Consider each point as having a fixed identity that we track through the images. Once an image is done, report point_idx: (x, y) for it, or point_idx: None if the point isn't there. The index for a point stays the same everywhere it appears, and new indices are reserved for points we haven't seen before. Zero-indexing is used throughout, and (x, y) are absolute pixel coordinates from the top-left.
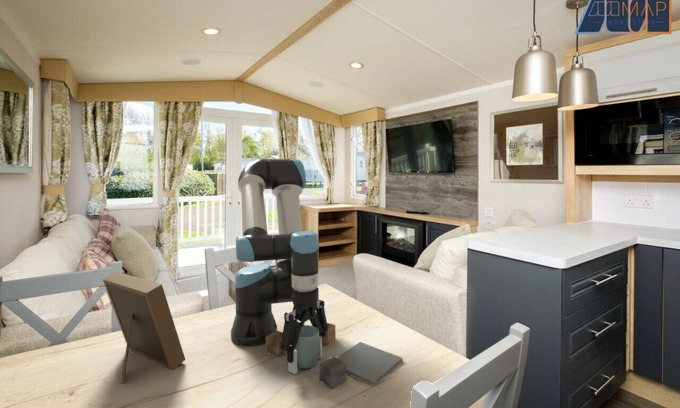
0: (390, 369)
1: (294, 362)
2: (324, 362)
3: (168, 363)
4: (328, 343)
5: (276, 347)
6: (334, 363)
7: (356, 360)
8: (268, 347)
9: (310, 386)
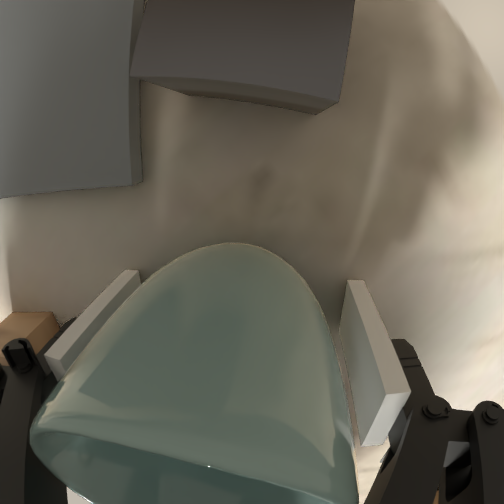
0: None
1: (381, 329)
2: (296, 61)
3: None
4: (42, 316)
5: None
6: None
7: (34, 83)
8: None
9: (397, 126)
